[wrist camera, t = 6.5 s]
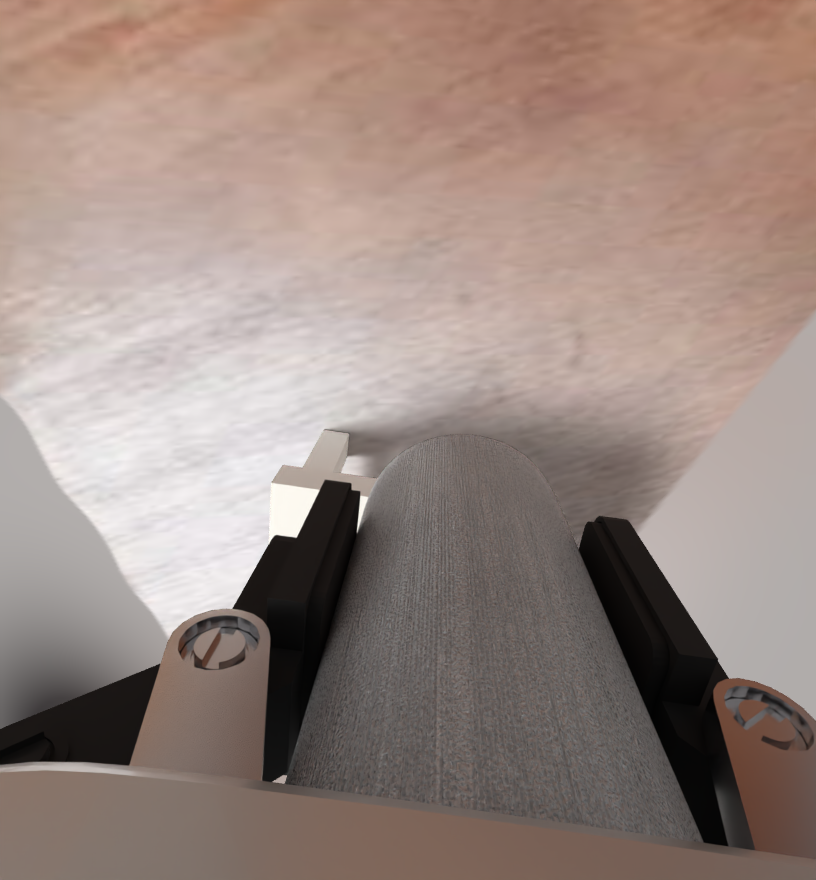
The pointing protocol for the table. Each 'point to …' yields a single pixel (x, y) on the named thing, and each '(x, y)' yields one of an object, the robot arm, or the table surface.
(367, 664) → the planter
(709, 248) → the table surface
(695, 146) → the table surface
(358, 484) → the stool
